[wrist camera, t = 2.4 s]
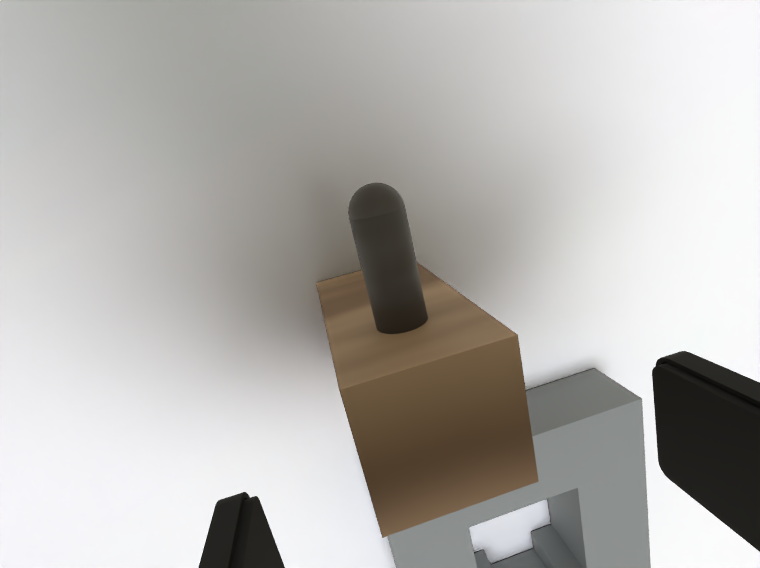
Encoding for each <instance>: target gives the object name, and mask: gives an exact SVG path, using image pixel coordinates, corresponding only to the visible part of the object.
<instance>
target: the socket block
mask: <svg viewBox="0 0 760 568" xmlns="http://www.w3.org/2000/svg"><path fill="white" fill-rule="evenodd" d="M526 397H527V403H528V410H529V417H530V424H531V431H532V438H533V445H534V452H535V459H536V466H537V473H538V480H539V482H536V483H533V484H530V485H528V486H525V487H522V488H519V489H517V490H514V491H511V492H508V493H505V494H503V495H500V496H497V497H494V498H492V499H489V500H486V501H483V502H480V503H478V504H475V505H472V506H469V507H467V508H464V509H461V510H458V511H455V512H453V513H450V514H447V515H444V516H442V517H439V518H436V519H433V520H430V521H428V522H425V523H422V524H419V525H417V526H414V527H411V528H408V529H405V530H403V531H400V532H397V533H394V534H392V535H389V536H388V540H389V543H390V547H391V550H392V554H393V557H394V561H395V564H396V568H651V567H650V547H649V528H648V508H647V489H646V469H645V450H644V430H643V411H642V398H640V397H638V396H637V395H635V394H634V393H632V392H631V391H629V390H628V389H626V388H625V387H623V386H621V385H620V384H618V383H617V382H615V381H614V380H612V379H611V378H609V377H608V376H606V375H605V374H603V373H601V372H600V371H598V370H597V369H595V368H594V369H591V370H588V371H585V372H582V373H578V374H575V375H572V376H569V377H566V378H563V379H560V380H557V381H554V382H551V383H548V384H545V385H542V386H539V387H536V388H533V389H530V390H527V391H526ZM545 499H548V505H549V513H550V520H551V524H550V525H548V526H545V527H542V528H540V529H537V530H534V531H532V532H531V535H532V541H533V547H534V548H533V549H531V550H528V551H526V552H523V553H520V554H518V555H515V556H512V557H510V558H507V559H505V560H502V561H499V562H497V563H494V564H490V562H489V560H488V558H487V556H486V554H485V552H484V550H481V551H478V552H476V553H474V550H473V546H472V541H471V536H470V531H469V527H471V526H474V525H477V524H479V523H482V522H485V521H488V520H490V519H493V518H496V517H498V516H501V515H504V514H507V513H509V512H512V511H515V510H518V509H520V508H523V507H526V506H529V505H531V504H534V503H537V502H539V501H542V500H545Z"/></svg>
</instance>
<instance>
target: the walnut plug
mask: <svg viewBox="0 0 760 568" xmlns="http://www.w3.org/2000/svg"><path fill="white" fill-rule="evenodd" d="M348 214H349V220H350V224H351V228H352V232H353V236H354V240H355V244H356V248H357V252H358V256H359V260H360V264H361V268H362V270H360V271H357V272H353V273H349V274H346V275H342V276H338V277H335V278H331V279H327V280H324V281H320V282H316V284H317V289H318V293H319V298H320V302H321V307H322V312H323V316H324V321H325V326H326V330H327V335H328V339H329V344H330V349H331V353H332V358H333V363H334V367H335V372H336V377H337V381H338V386H339V390H340V394H341V397H342V401H343V404H344V407H345V411H346V414H347V418H348V421H349V425H350V428H351V431H352V435H353V438H354V442H355V445H356V449H357V452H358V455H359V459H360V462H361V466H362V469H363V473H364V476H365V479H366V483H367V486H368V490H369V493H370V497H371V500H372V503H373V507H374V510H375V514H376V517H377V521H378V524H379V527H380V531H381V534H382V538H383V537H386V536H389V535H392V534H394V533H397V532H400V531H403V530H405V529H408V528H411V527H414V526H417V525H419V524H422V523H425V522H428V521H430V520H433V519H436V518H439V517H442V516H444V515H447V514H450V513H453V512H455V511H458V510H461V509H464V508H467V507H469V506H472V505H475V504H478V503H480V502H483V501H486V500H489V499H492V498H494V497H497V496H500V495H503V494H505V493H508V492H511V491H514V490H517V489H519V488H522V487H525V486H528V485H530V484H533V483H536V482H539V480H538V473H537V466H536V459H535V452H534V445H533V438H532V431H531V424H530V417H529V410H528V403H527V397H526V390H525V383H524V376H523V369H522V362H521V355H520V348H519V341H518V335H517V334H516V333H514V332H513V331H512V330H510V329H509V328H507V327H506V326H505V325H503V324H502V323H501V322H499V321H498V320H496V319H495V318H494V317H492V316H491V315H489V314H488V313H487V312H485V311H484V310H482V309H481V308H480V307H478V306H477V305H475V304H474V303H473V302H471V301H470V300H469V299H467V298H466V297H464V296H463V295H462V294H460V293H459V292H457V291H456V290H455V289H453V288H452V287H450V286H449V285H448V284H446V283H445V282H444V281H442V280H441V279H439V278H438V277H437V276H435V275H434V274H432V273H431V272H430V271H428V270H427V269H425V268H424V267H423V266H421V265H420V264H418V263H417V262H416V258H415V253H414V248H413V244H412V239H411V234H410V229H409V225H408V220H407V215H406V210H405V205H404V202H403V200H402V198H401V196H400V195H399V193H398V192H397V191H396V190H395V189H393V188H392V187H390V186H388V185H386V184H382V183H371V184H368V185H365V186H363V187H361V188H360V189H359V190H358V191H357V192H356V193H355V194H354V195H353V197H352V199H351V201H350V204H349V211H348Z"/></svg>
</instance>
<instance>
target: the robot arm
mask: <svg viewBox="0 0 760 568" xmlns="http://www.w3.org/2000/svg"><path fill="white" fill-rule="evenodd" d="M652 377H653V391H654V405H655V420H656V434H657V448H658V461H659V465H660V468H661V470H662V471H663V473H664V474H665V475H666V477H668V478H669V479H670V480H671V481H672V482H673V483H675V484H676V485H677V486H678V487H680V488H681V489H682V490H683V491H685V492H686V493H687V494H688V495H690V496H691V497H692V498H693V499H695V500H696V501H697V502H698V503H700V504H701V505H702V506H703V507H705V508H706V509H707V510H708V511H710V512H711V513H712V514H713V515H715V516H716V517H717V518H718V519H720V520H721V521H722V522H723V523H725V524H726V525H727V526H728V527H730V528H731V529H732V530H733V531H735V532H736V533H737V534H738V535H740V536H741V537H742V538H743V539H745V540H746V541H747V542H748V543H750V544H751V545H752V546H753V547H755V548H756V549H757V550H758V551H760V383H759V382H757V381H754V380H752V379H750V378H747V377H745V376H743V375H740V374H738V373H736V372H733V371H731V370H729V369H727V368H724V367H722V366H720V365H717V364H715V363H713V362H710V361H708V360H706V359H703V358H701V357H699V356H696V355H694V354H692V353H689V352H686V351H682V352H678V353H675V354H672V355H668V356H665V357H662V358H660V359H658V360H657V362H656V367H654V368H653V370H652ZM199 568H285V567H284V564H283V562H282V559H281V556H280V554H279V551H278V548H277V546H276V543H275V540H274V538H273V535H272V532H271V530H270V527H269V524H268V522H267V519H266V516H265V514H264V511H263V508H262V506H261V503H260V500H259V498H258V497H257V496H255V497H252V498H250V497H249V495H248V494H247V493H246V492H243V493H240V494H237V495H234V496H231V497H228V498H225V499H221V500H219V501H218V502H217V503H216V506H215V509H214V513H213V517H212V520H211V524H210V528H209V531H208V535H207V539H206V542H205V546H204V550H203V553H202V557H201V561H200V564H199Z"/></svg>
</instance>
